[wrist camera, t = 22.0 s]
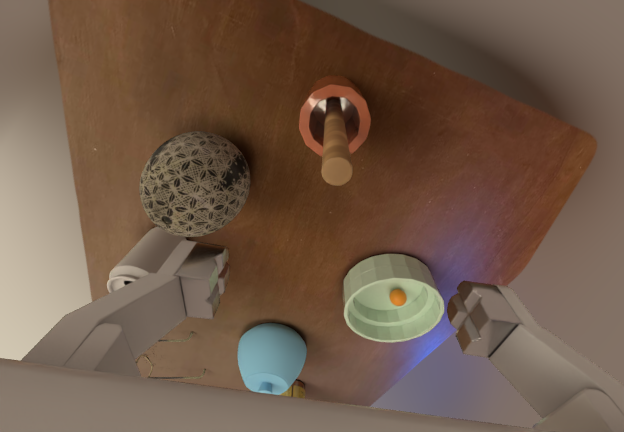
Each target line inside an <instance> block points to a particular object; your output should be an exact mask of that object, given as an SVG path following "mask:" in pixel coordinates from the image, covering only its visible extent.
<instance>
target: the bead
mask: <svg viewBox="0 0 624 432" xmlns="http://www.w3.org/2000/svg"><path fill="white" fill-rule="evenodd" d="M389 298H390V301H391V303H392V304H394V305H395V306H402V305H404V304H405V303H406V300H407V296H406V294H405V292H404V291H402V290H400V289H394V290H393V291H391V293H390V296H389Z"/></svg>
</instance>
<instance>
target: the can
mask: <svg viewBox="0 0 624 432" xmlns="http://www.w3.org/2000/svg"><path fill="white" fill-rule="evenodd" d="M183 240H186V238H185V237H182V236H177V235H173V234H170V233H168V232H166V231H164V230H162V229H161V228H159V227H155V228H153V229H151V230H150V231H149V232H148V233H147V234H146V235H145V236H144V237H143V238H142V239H141V240H140V241H139V242H138V243H137V244H136V245H135V246H134V248H133V249H132V250H131V251H130V252H129V253H128V254H127V255H126V256H125V257H124V258H123V259H122V260H121V261H120V262H119V263H118V264H117V265H116V266H115V267H114V269H113V270H112V271H111V272H110V276H109V278H110V280H109V281H108V283H107V288H108V291H109V292H110V293H112V292H114V291H116V290H118V289H120V288H122V287H124V286H126V285H128V284H130V283H132V282H134V281H136V280H138V279H140V278H142V277H144V276H146V275H148V274H150V273H157V272H158V270H159V269H160V268H161V266H162V265H163V264H164V263H165V261H166V260H167V259H168V257H169V256H170V255H171V253H172V252H173V251H174V249H175V248H176V247H177V245H178V244H179V243H180V242H181V241H183Z"/></svg>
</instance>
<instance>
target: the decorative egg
mask: <svg viewBox="0 0 624 432" xmlns="http://www.w3.org/2000/svg"><path fill="white" fill-rule="evenodd" d="M249 190H250V172H249V168H248V164H247V162H246V160H245V158H244V156H243V155H242V153H241V152H240V150H239V149H238V148H237V147H236V146H235V145H234V144H233V143H231V142H230V141H229V140H227V139H225V138H224V137H222V136H219V135H217V134H214V133H209V132H202V131H196V132H188V133H183V134H180V135H177V136H175V137H173V138H171V139H170V140H168V141H166V142H165V143H163V144H162V145H161V146H160V147H159V148H158V149H157V150H156V151H155V152H154V153H153V154H152V156H151V157H150V158H149V160H148V161H147V163H146V165H145V167H144V170H143V172H142V175H141V179H140V198H141V202H142V205H143V208H144V210H145V212H146V214H147V215H148V217H149V218H150V219H151V221H152V222H153V223H154V224H155V225H157V226H158V227H159V228H161V229H162V230H164V231H166V232H168V233H170V234H173V235H177V236H182V237H197V236H203V235H207V234H210V233H213V232H215V231H217V230H219V229H220V228H222V227H224V226H225V225H226V224H228V223H229V222H230V221H231V220H232V219H233V218H234V217H235V216H236V215H237V214H238V213H239V212H240V210H241V209H242V207H243V206H244V204H245V202H246V199H247V197H248V194H249Z"/></svg>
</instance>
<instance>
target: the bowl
mask: <svg viewBox="0 0 624 432" xmlns="http://www.w3.org/2000/svg"><path fill="white" fill-rule="evenodd" d="M394 289H400V290H402V291H404V292H405V294H406V296H407V300H406V303H405V304H404V305H402V306H395V305H394V304H392V303H391V301H390V298H389V296H390V293H391V291H393V290H394ZM343 309H344V317H345V320H346V323H347V325H348V326H349V327H350V328H351V329H352V330H353V331H354V332H355V333H357V334H359V335H360V336H362V337H364V338H367V339H370V340H374V341H378V342H400V341H407V340H410V339H413V338H417V337H420V336H421V335H423V334H425V333H427V332H428V331H430V330H432V329H433V328H434V327H435V326H436V325H437V324H438V323H439V322H440V320H441V317H442V315H443V313H444V301H443V298H442V296H441V294H440V291H439V289H438V287H437V285H436V282H435V280H434V278H433V275H432V274H431V272H430V270H429V269H428V267H427V266H426V265H424V264H423V263H422V262H420V261H419V260H418V259H416V258H412V257H409V256H406V255H403V254H383V255H377V256H372V257H370V258H368V259H365V260H363V261H361V262H359V263H358V264H357V265H355V266H354V267H353V268H352V269H351V270H350V271H349V272H348V274H347V276H346V277H345V279H344V282H343Z"/></svg>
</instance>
